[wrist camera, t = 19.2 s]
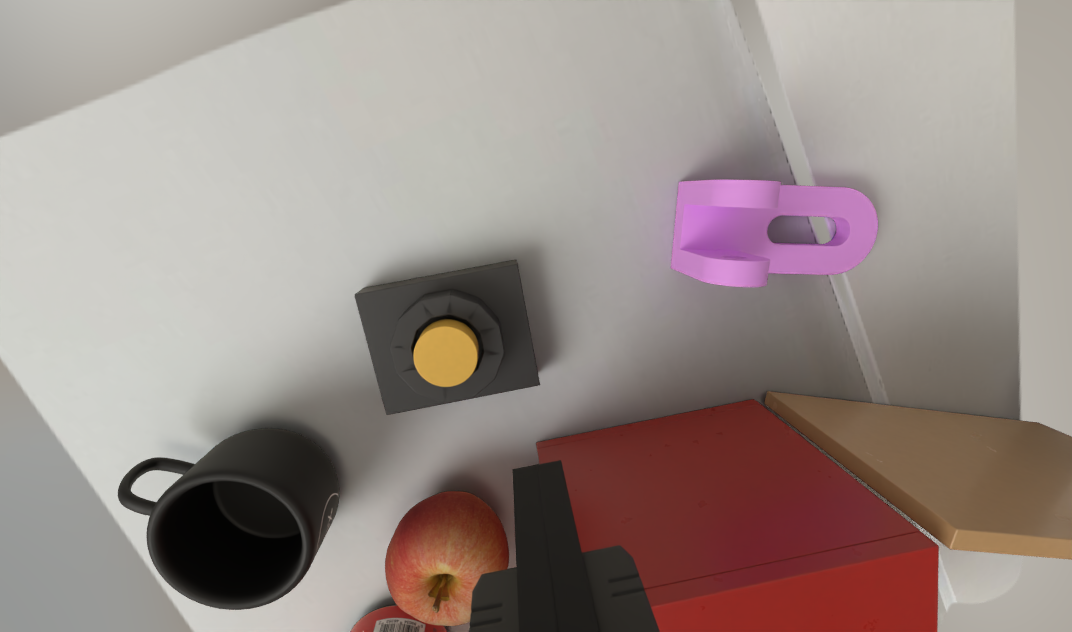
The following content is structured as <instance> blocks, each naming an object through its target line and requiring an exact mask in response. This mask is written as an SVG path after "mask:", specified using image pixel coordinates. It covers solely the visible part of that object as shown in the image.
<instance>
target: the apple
mask: <svg viewBox="0 0 1072 632" xmlns="http://www.w3.org/2000/svg"><path fill="white" fill-rule="evenodd" d="M508 563H509V549H508V542H507V538H506V534H505V531H504V528H503V525H502V523H501V521H500V519H499V518H498V516H497V515H496V514H495V512H494V511H493V510H492V509H491V508H490V507H489V506H488V505H487V504H486V503H485V502H484V501H482V500H481V499H480V498H478V497H477V496H475V495H473V494H471V493H467V492H462V491H447V492H442V493H439V494H436V495H433V496H431V497H429V498H427V499H425V500H423V501H421V502H419V503H418V504H416V505H415V506H414V507H413V508H411V509H410V510H409V511H408V512H407V513H406V514H405V516H404V517H403V518H402V520H401V521H400V523H399V525H398V526H397V528H396V530H395V533H394V535H393V537H392V539H391V541H390V544H389V546H388V549H387V554H386V559H385V573H386V580H387V584H388V588H389V591H390V593H391V596H392V598H393V600H394V601H395V603H396V604H397V606H398V607H399V608H400V609H401V610H403V611H404V612H406V613H407V614H409V615H411V616H413V617H414V618H416V619H418V620H419V621H422V622H424V623H427V624H432V625H442V626H457V625H461V624H465V623H467V622H470V615H471V602H472V591H473V589H474V587H475V586H476V584H477V582H478V580H479V578H480V576H481V575H482V574H485V573H490V572H495V571H500V570H505V569H507V568H508Z"/></svg>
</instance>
